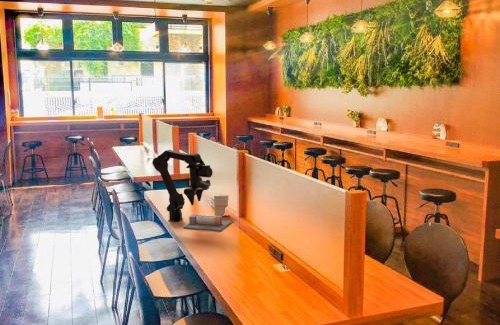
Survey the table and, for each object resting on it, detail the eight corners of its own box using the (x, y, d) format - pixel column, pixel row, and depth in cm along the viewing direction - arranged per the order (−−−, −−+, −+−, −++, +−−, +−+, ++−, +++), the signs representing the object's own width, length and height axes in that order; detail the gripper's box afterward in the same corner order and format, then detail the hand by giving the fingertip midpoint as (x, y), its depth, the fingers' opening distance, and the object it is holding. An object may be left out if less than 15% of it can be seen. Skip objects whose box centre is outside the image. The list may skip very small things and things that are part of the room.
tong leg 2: (198, 222, 282) (198, 215, 281) (199, 221, 283) (199, 214, 283) (221, 223, 278) (221, 216, 277) (222, 223, 279) (221, 216, 278)
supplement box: (229, 214, 301) (228, 193, 298) (228, 217, 296) (227, 195, 294) (215, 214, 301) (215, 193, 299) (214, 216, 297) (213, 195, 294)
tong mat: (183, 228, 274) (183, 219, 273) (197, 219, 292) (197, 211, 291) (220, 231, 267) (220, 222, 266) (232, 222, 285) (232, 213, 284)
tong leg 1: (196, 223, 279) (196, 216, 279) (197, 222, 280) (197, 216, 280) (219, 225, 275) (219, 218, 274) (220, 224, 276) (220, 217, 275)
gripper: (201, 180, 268) (202, 208, 270) (214, 173, 285) (215, 200, 288) (182, 179, 271) (183, 206, 274) (196, 172, 288) (197, 199, 291)
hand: (196, 203), depth 281 cm, fingers open, 9 cm apart
